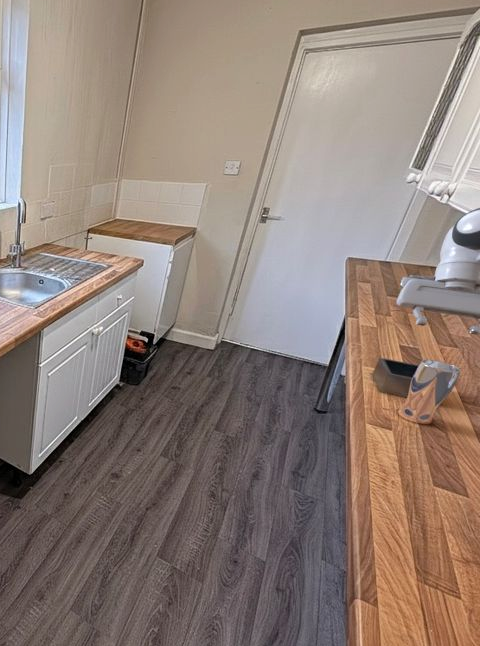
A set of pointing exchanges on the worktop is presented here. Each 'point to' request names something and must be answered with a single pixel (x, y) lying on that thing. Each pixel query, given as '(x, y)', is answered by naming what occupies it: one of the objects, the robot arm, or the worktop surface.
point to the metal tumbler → (428, 390)
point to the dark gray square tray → (394, 376)
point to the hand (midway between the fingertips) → (446, 329)
